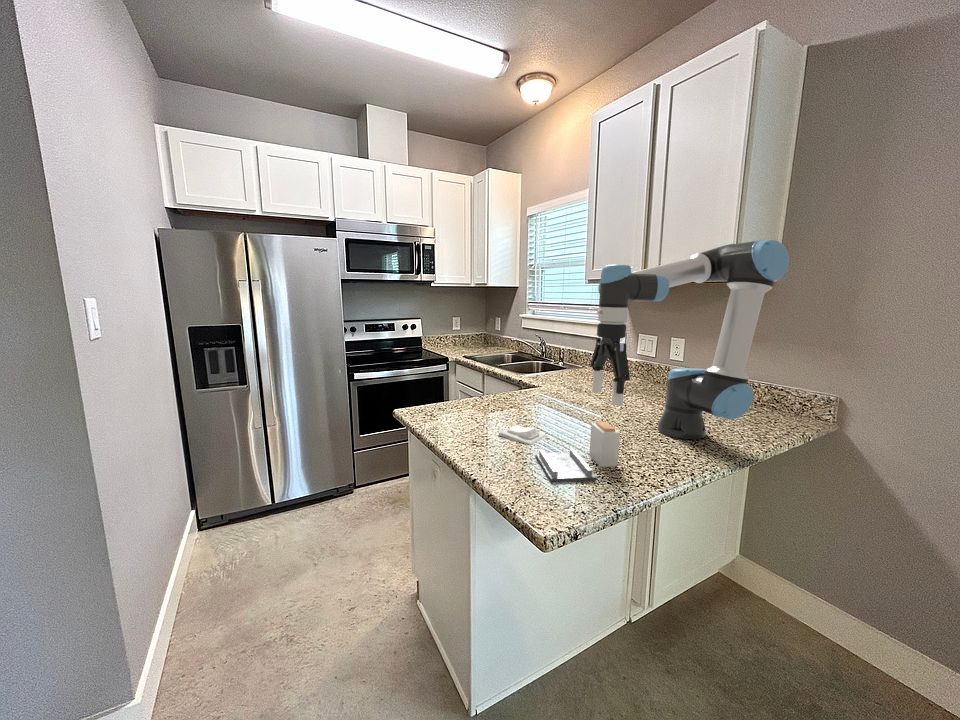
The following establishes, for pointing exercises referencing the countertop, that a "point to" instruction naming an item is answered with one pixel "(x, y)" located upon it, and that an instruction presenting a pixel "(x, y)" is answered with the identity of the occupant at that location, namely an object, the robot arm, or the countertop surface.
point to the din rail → (565, 467)
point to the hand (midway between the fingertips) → (606, 398)
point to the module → (604, 444)
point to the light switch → (523, 434)
